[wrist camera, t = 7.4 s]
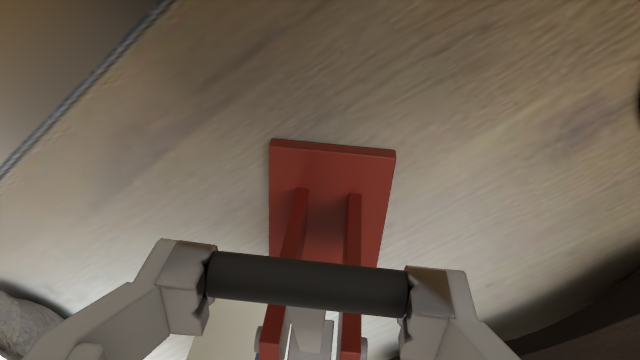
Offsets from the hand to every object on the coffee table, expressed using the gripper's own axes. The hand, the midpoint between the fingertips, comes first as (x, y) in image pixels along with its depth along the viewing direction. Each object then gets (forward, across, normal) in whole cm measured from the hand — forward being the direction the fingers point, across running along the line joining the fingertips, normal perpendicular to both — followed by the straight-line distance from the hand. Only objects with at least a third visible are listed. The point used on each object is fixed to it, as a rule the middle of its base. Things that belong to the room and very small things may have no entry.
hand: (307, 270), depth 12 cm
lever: (+4, 0, +6) cm, 7 cm away
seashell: (+19, +29, +30) cm, 46 cm away
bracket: (+19, 0, +12) cm, 23 cm away
